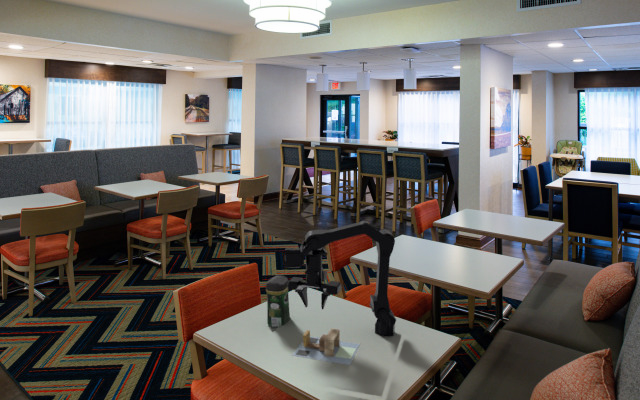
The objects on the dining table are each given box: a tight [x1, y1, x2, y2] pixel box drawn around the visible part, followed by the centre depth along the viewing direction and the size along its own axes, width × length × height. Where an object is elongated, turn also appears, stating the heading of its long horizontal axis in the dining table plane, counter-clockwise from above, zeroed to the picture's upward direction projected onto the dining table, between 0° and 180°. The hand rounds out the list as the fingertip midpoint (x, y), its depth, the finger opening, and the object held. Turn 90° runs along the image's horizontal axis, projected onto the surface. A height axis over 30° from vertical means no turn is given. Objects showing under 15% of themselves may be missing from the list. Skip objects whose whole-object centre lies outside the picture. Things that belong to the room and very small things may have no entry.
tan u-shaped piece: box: [302, 329, 327, 352], centre depth 156 cm, size 10×4×5 cm, turn 72°
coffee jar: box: [265, 275, 291, 329], centre depth 177 cm, size 10×8×19 cm
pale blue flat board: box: [292, 336, 361, 366], centre depth 155 cm, size 20×14×1 cm
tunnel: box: [324, 328, 341, 357], centre depth 154 cm, size 3×8×6 cm, turn 162°
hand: (314, 307), depth 163 cm, fingers open, 6 cm apart
